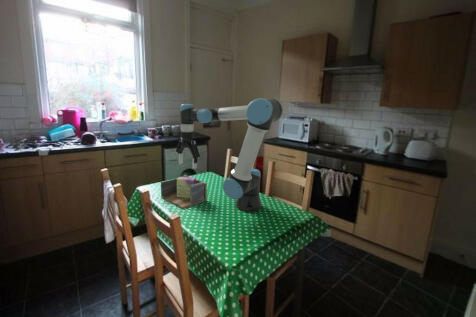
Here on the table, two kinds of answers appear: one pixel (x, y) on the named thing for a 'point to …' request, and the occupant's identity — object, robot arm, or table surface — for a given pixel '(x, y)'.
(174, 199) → the grey brown open container
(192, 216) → the table surface
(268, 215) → the table surface
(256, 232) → the table surface
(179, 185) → the box
